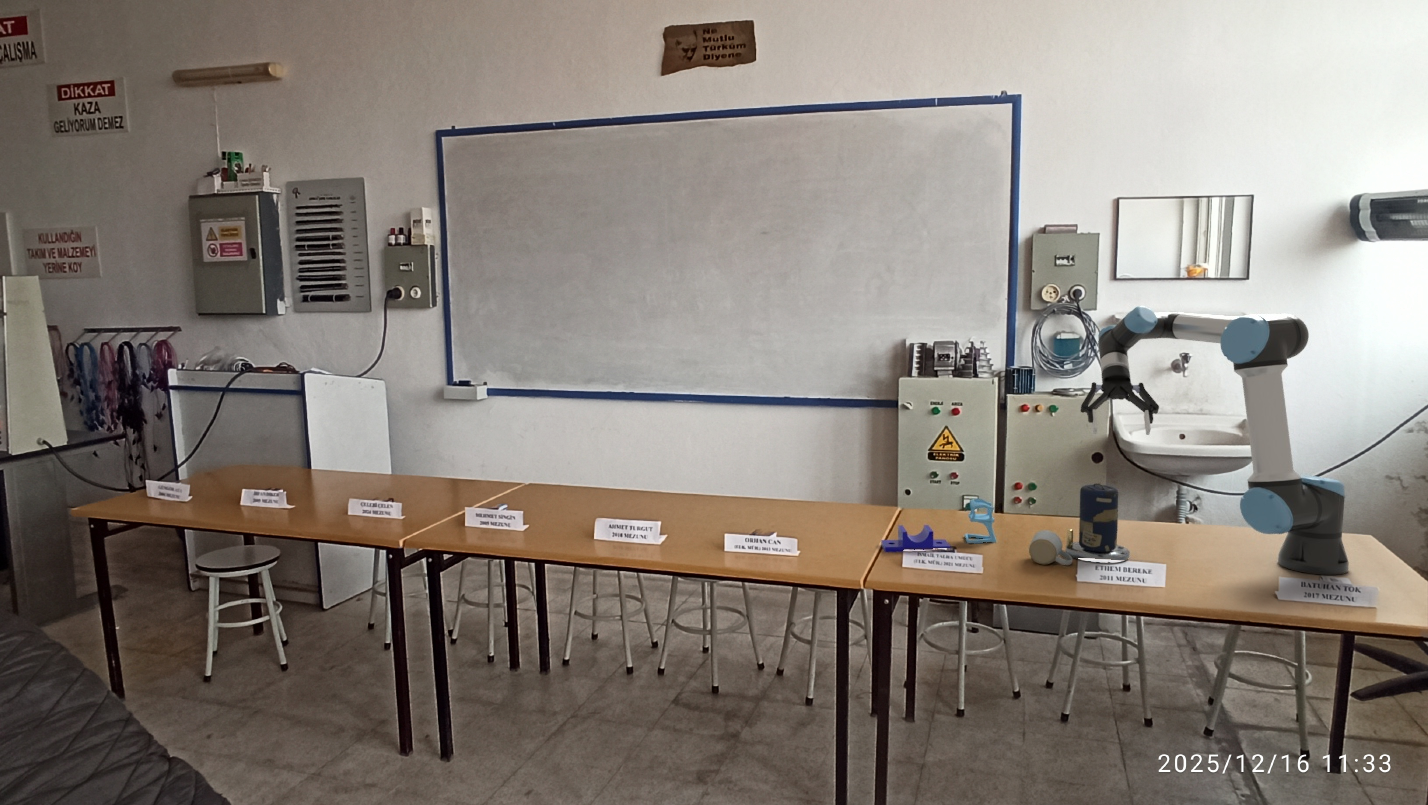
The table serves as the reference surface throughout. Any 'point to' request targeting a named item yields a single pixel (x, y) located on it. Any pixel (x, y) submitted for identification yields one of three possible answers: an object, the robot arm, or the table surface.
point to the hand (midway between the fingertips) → (1121, 431)
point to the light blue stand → (981, 521)
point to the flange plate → (1080, 552)
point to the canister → (1098, 517)
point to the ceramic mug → (1048, 549)
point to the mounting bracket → (914, 541)
